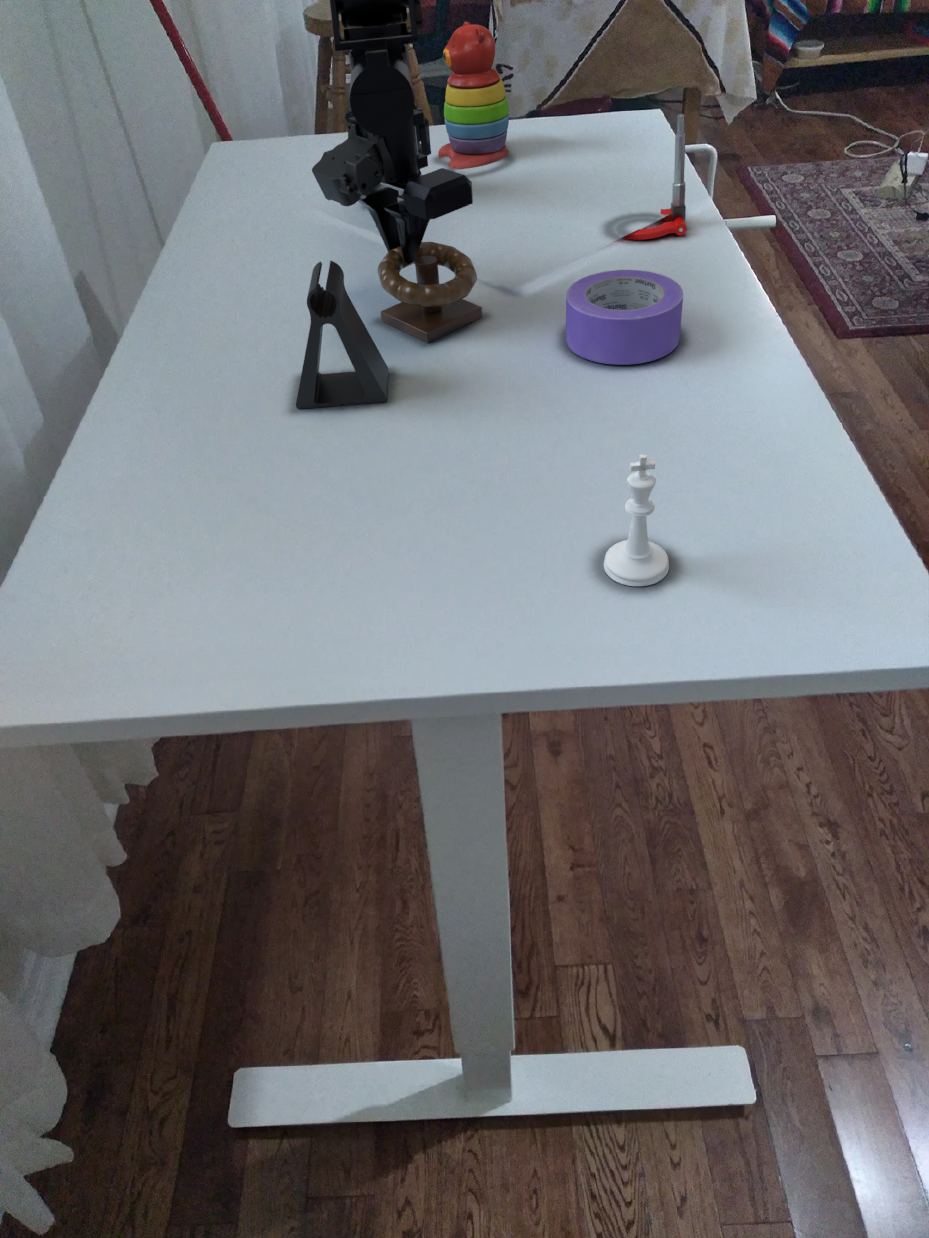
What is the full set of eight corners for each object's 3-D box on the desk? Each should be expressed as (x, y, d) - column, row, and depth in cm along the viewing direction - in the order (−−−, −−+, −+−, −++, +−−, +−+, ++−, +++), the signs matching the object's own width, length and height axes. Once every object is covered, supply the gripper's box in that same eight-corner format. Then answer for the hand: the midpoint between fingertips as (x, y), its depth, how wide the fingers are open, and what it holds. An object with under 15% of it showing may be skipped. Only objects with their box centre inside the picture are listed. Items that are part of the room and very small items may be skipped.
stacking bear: (435, 156, 147) (424, 21, 135) (499, 146, 148) (494, 12, 136) (452, 178, 139) (441, 38, 127) (519, 168, 141) (515, 28, 129)
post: (381, 321, 108) (373, 262, 103) (435, 296, 111) (430, 238, 107) (427, 343, 103) (421, 283, 98) (482, 317, 107) (479, 257, 102)
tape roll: (581, 308, 106) (582, 264, 103) (688, 318, 103) (693, 272, 100) (552, 360, 98) (552, 313, 95) (667, 372, 95) (671, 324, 92)
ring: (359, 277, 104) (358, 258, 103) (432, 246, 109) (432, 228, 107) (421, 322, 100) (422, 304, 98) (494, 288, 105) (496, 270, 103)
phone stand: (389, 372, 99) (373, 257, 91) (387, 402, 95) (370, 284, 87) (302, 378, 99) (278, 264, 91) (296, 409, 95) (270, 292, 87)
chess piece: (598, 549, 76) (601, 440, 69) (660, 542, 76) (669, 433, 69) (610, 590, 72) (615, 480, 65) (675, 583, 72) (687, 472, 66)
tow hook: (611, 246, 119) (688, 239, 118) (609, 134, 110) (692, 125, 109) (607, 220, 125) (680, 213, 124) (605, 112, 117) (683, 104, 115)
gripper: (264, 109, 97) (293, 262, 107) (378, 144, 86) (399, 310, 97) (352, 82, 102) (372, 230, 112) (471, 112, 91) (481, 273, 102)
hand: (402, 260), depth 106 cm, fingers closed on ring, 2 cm apart
